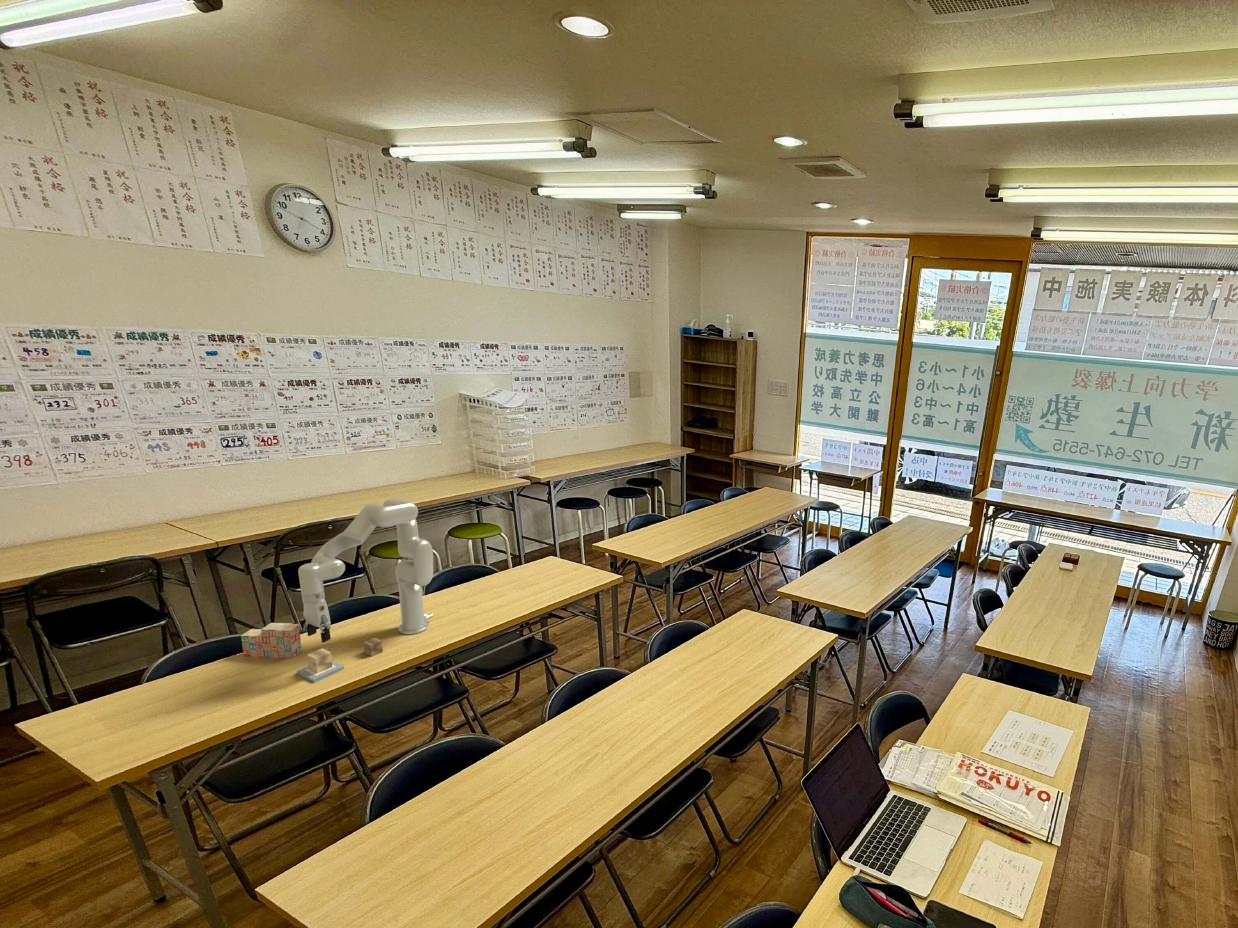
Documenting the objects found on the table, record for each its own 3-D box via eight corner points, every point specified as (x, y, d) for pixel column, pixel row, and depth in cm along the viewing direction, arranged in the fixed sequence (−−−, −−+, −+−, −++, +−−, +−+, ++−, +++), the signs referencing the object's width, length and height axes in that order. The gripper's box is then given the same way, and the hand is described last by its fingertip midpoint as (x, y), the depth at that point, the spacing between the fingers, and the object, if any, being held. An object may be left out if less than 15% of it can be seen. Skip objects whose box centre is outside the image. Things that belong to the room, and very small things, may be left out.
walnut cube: (375, 648, 241) (374, 637, 240) (382, 651, 238) (381, 640, 238) (364, 653, 237) (363, 642, 236) (371, 656, 234) (370, 645, 233)
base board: (327, 660, 232) (326, 657, 232) (344, 668, 225) (344, 665, 225) (296, 673, 222) (296, 670, 222) (313, 682, 215) (313, 679, 215)
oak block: (323, 662, 227) (322, 648, 226) (332, 666, 224) (331, 652, 223) (308, 669, 223) (307, 654, 222) (317, 673, 219) (315, 658, 218)
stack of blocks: (243, 656, 235) (239, 628, 233) (253, 649, 241) (250, 621, 239) (292, 658, 233) (289, 630, 231) (302, 651, 240) (299, 623, 237)
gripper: (335, 597, 217) (341, 639, 220) (310, 587, 226) (316, 628, 230) (316, 604, 211) (322, 647, 214) (291, 594, 220) (297, 636, 224)
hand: (319, 637), depth 222 cm, fingers open, 9 cm apart
